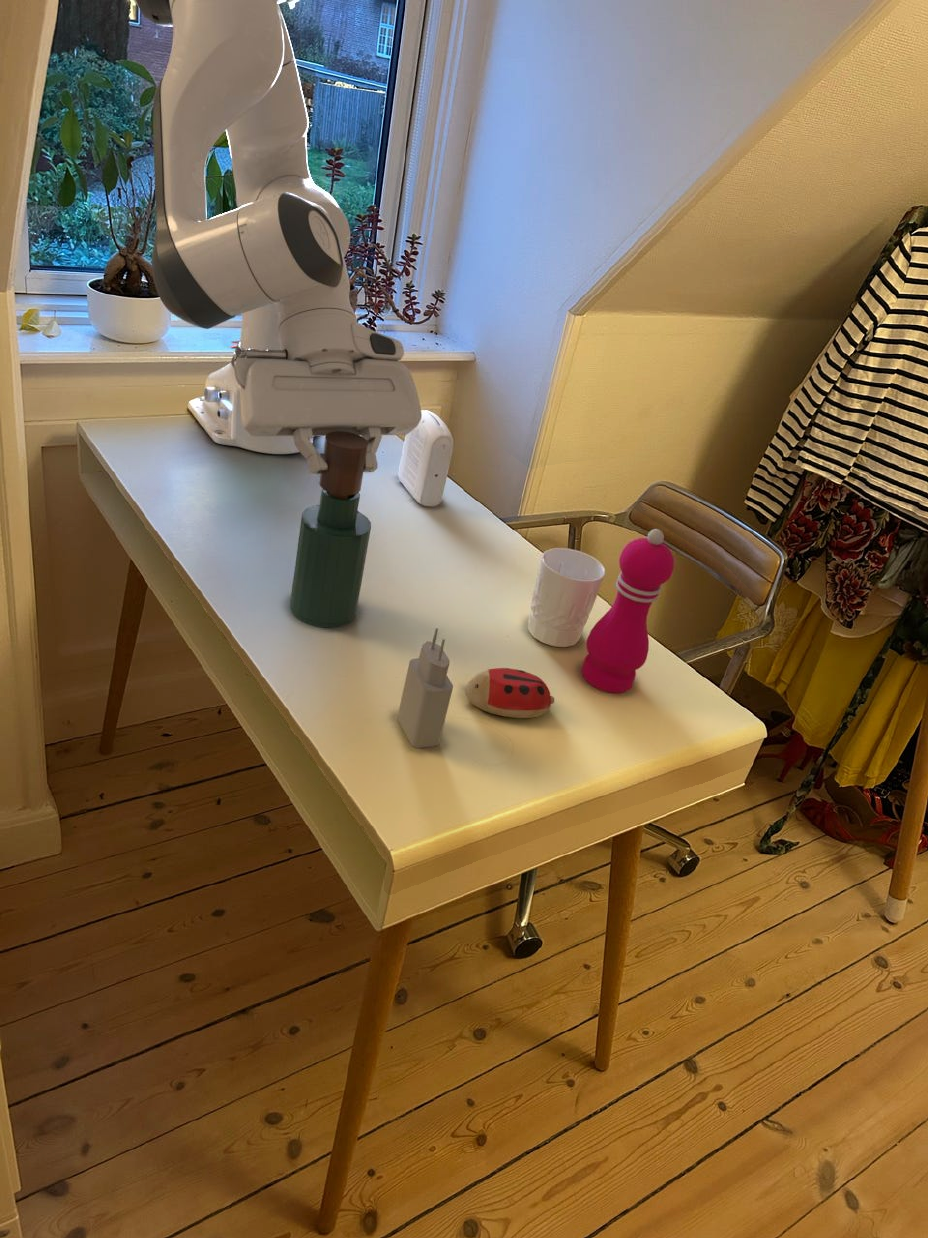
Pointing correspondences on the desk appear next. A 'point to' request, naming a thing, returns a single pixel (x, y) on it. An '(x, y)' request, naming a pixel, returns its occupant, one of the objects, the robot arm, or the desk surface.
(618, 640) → the pepper mill
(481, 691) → the ladybug figurine
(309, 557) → the bottle
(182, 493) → the desk surface
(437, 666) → the power adapter
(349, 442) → the stopper
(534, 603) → the white cup
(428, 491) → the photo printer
